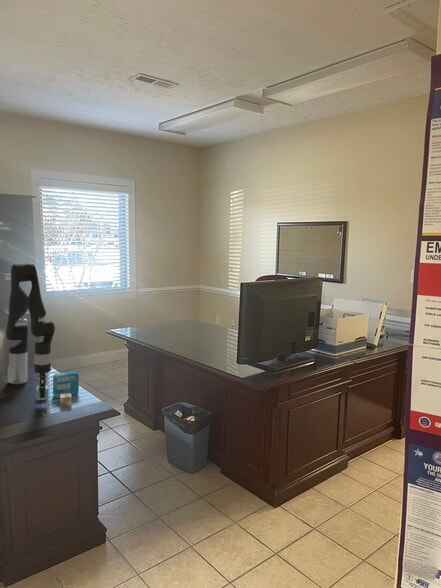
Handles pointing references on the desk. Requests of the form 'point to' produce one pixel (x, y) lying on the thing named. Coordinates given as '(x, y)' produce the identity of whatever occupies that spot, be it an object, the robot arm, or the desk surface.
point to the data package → (65, 383)
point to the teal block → (39, 392)
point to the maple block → (65, 400)
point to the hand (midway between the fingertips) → (42, 395)
